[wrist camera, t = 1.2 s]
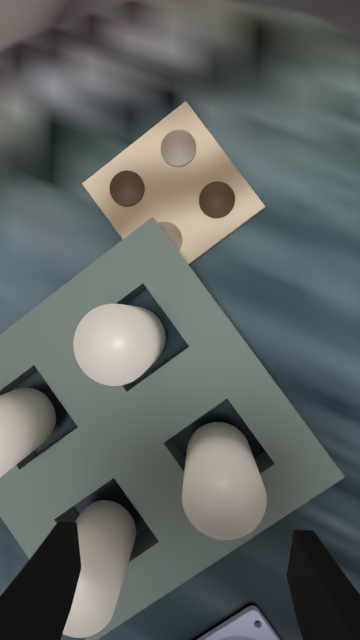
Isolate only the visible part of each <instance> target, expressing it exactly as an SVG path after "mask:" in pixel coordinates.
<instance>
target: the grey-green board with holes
mask: <svg viewBox="0 0 360 640" xmlns="http://www.w3.org/2000/svg"><path fill="white" fill-rule="evenodd" d="M146 288H147V289H148V291H149V292H150V293H151V295H152V296H153V297H154V299H155V300H156V302H157V303H158V304H159V306H160V307H161V308H162V310H163V311H164V312H165V314H166V315H167V317H168V318H169V319H170V321H171V322H172V323H173V325H174V326H175V328H176V329H177V330H178V332H179V333H180V334H181V336H182V337H183V339H184V340H185V341H186V343H187V344H188V346H187V347H185V348H184V349H182V350H181V351H180V352H178V353H177V354H175V355H174V356H173V357H171V358H170V359H169V360H167V361H166V362H164V363H163V364H162V365H160V366H159V367H158V368H156V369H155V370H153V371H152V372H151V373H149V374H148V375H147V376H145V377H144V378H142V379H141V380H140V381H138V382H137V383H135V384H133V383H132V382H130V383H128V384H125V385H120V386H108V385H103V384H100V383H98V382H96V381H94V380H92V379H91V378H90V377H88V376H87V375H86V374H85V373H84V372H83V370H82V369H81V368H80V366H79V365H78V362H77V360H76V357H75V354H74V347H73V342H74V335H75V331H76V328H77V326H78V324H79V323H80V321H81V320H82V318H83V317H84V316H85V315H86V314H87V313H88V312H90V311H91V310H93V309H94V308H96V307H98V306H101V305H105V304H123V305H124V304H126V303H127V302H128V301H130V300H131V299H132V298H134V297H135V296H136V295H138V294H139V293H140V292H142V291H143V290H144V289H146ZM36 370H38V371H39V373H40V374H41V375H42V377H43V378H44V380H45V381H46V382H47V384H48V385H49V387H50V388H51V390H52V391H53V392H54V394H55V395H56V397H57V398H58V399H59V401H60V402H61V404H62V405H63V407H64V408H65V409H66V411H67V412H68V414H69V415H70V416H71V418H72V419H73V421H74V422H75V423H76V425H77V426H76V427H75V428H73V429H72V430H71V431H69V432H68V433H66V434H65V435H64V436H62V437H61V438H60V439H58V440H57V441H55V442H54V443H53V444H51V445H50V446H49V447H47V448H46V449H44V450H43V451H42V452H40V453H39V454H37V455H36V454H35V452H34V451H33V452H32V453H30V454H29V455H28V456H27V457H25V458H24V459H23V460H22V461H20V462H19V463H18V464H17V465H15V466H14V467H13V468H12V469H10V470H9V471H8V472H7V473H6V474H4V475H3V476H2V477H1V478H0V517H1V518H2V520H3V521H4V523H5V524H6V526H7V527H8V528H9V530H10V531H11V533H12V534H13V536H14V537H15V539H16V540H17V542H18V543H19V544H20V546H21V547H22V549H23V550H24V552H25V553H26V555H27V556H28V558H29V559H30V558H31V557H32V556H33V554H34V553H35V552H36V550H37V549H38V548H39V546H40V545H41V544H42V542H43V541H44V540H45V538H46V537H47V536H48V534H49V533H50V531H51V530H52V529H53V527H54V526H55V525H56V524H57V523H58V522H75V521H76V520H77V518H78V516H79V515H78V514H77V512H76V511H75V510H74V508H73V506H74V505H76V504H77V503H78V502H80V501H81V500H83V499H84V498H86V497H87V496H88V495H90V494H91V493H93V492H94V491H96V490H97V489H98V488H100V487H101V486H103V485H104V484H106V483H107V482H108V481H110V480H111V479H113V478H114V479H115V480H116V482H117V483H118V484H119V486H120V487H121V489H122V490H123V491H124V493H125V494H126V496H127V497H128V499H129V500H130V501H131V503H132V504H133V506H134V507H135V508H136V510H137V511H138V513H139V514H140V516H141V517H142V518H143V520H144V521H145V523H146V524H147V525H148V527H149V528H150V529H149V530H148V531H146V532H145V533H143V534H142V535H140V536H139V537H137V538H136V539H135V542H134V546H133V549H132V553H131V556H130V559H129V563H128V566H127V570H126V573H125V576H124V580H123V583H122V586H121V590H120V593H119V597H118V600H117V603H116V607H115V610H114V613H113V616H112V618H111V620H110V622H109V623H108V624H107V626H106V627H105V628H104V629H102V630H101V631H100V632H98V633H96V634H95V635H92V636H89V637H84V639H85V640H97V639H99V638H100V637H102V636H103V635H105V634H106V633H108V632H109V631H111V630H113V629H114V628H116V627H117V626H119V625H120V624H122V623H123V622H125V621H126V620H128V619H129V618H131V617H132V616H134V615H135V614H137V613H138V612H140V611H142V610H143V609H145V608H146V607H148V606H149V605H151V604H152V603H154V602H155V601H157V600H158V599H160V598H161V597H163V596H164V595H166V594H167V593H169V592H171V591H172V590H174V589H175V588H177V587H178V586H180V585H181V584H183V583H184V582H186V581H187V580H189V579H190V578H192V577H193V576H195V575H196V574H198V573H200V572H201V571H203V570H204V569H206V568H207V567H209V566H210V565H212V564H213V563H215V562H216V561H218V560H219V559H221V558H222V557H224V556H225V555H227V554H228V553H230V552H232V551H233V550H235V549H236V548H238V547H239V546H241V545H242V544H244V543H245V542H247V541H248V540H250V539H251V538H253V537H254V536H256V535H257V534H259V533H261V532H262V531H264V530H265V529H267V528H268V527H270V526H271V525H273V524H274V523H276V522H277V521H279V520H280V519H282V518H283V517H285V516H286V515H288V514H290V513H291V512H293V511H294V510H296V509H297V508H299V507H300V506H302V505H303V504H305V503H306V502H308V501H309V500H311V499H312V498H314V497H315V496H317V495H319V494H320V493H322V492H323V491H325V490H326V489H328V488H329V487H331V486H332V485H334V484H335V483H337V482H338V481H340V480H341V479H343V478H344V477H345V476H344V475H343V474H342V472H341V471H340V470H339V468H338V467H337V466H336V464H335V463H334V461H333V460H332V459H331V457H330V456H329V455H328V453H327V452H326V451H325V449H324V448H323V447H322V445H321V444H320V442H319V441H318V440H317V438H316V437H315V436H314V434H313V433H312V432H311V430H310V429H309V428H308V426H307V425H306V423H305V422H304V421H303V419H302V418H301V417H300V415H299V414H298V413H297V411H296V410H295V409H294V407H293V406H292V404H291V403H290V402H289V400H288V399H287V398H286V396H285V395H284V394H283V392H282V391H281V390H280V388H279V387H278V385H277V384H276V383H275V381H274V380H273V379H272V377H271V376H270V375H269V373H268V372H267V371H266V369H265V368H264V366H263V365H262V364H261V362H260V361H259V360H258V358H257V357H256V356H255V354H254V353H253V352H252V350H251V349H250V347H249V346H248V345H247V343H246V342H245V341H244V339H243V338H242V337H241V335H240V334H239V333H238V331H237V330H236V328H235V327H234V326H233V324H232V323H231V322H230V320H229V319H228V318H227V316H226V315H225V314H224V312H223V311H222V309H221V308H220V307H219V305H218V304H217V303H216V301H215V300H214V299H213V297H212V296H211V295H210V293H209V292H208V291H207V289H206V288H205V286H204V285H203V284H202V282H201V281H200V280H199V278H198V277H197V276H196V274H195V273H194V272H193V270H192V269H191V267H190V266H189V265H188V263H187V262H186V261H185V259H184V258H183V257H182V255H181V254H180V253H179V251H178V250H177V248H176V247H175V246H174V244H173V243H172V242H171V240H170V239H169V238H168V236H167V235H166V234H165V232H164V231H163V229H162V228H161V227H160V225H159V224H158V223H157V221H156V220H155V219H154V217H152V218H150V219H149V220H148V221H146V222H145V223H144V224H143V225H141V226H140V227H139V228H137V229H136V230H135V231H133V232H132V233H131V234H130V235H128V236H127V237H126V238H124V239H123V240H122V241H120V242H119V243H118V244H117V245H115V246H114V247H113V248H111V249H110V250H109V251H108V252H106V253H105V254H104V255H102V256H101V257H100V258H98V259H97V260H96V261H95V262H93V263H92V264H91V265H89V266H88V267H87V268H85V269H84V270H83V271H82V272H80V273H79V274H78V275H76V276H75V277H74V278H72V279H71V280H70V281H69V282H67V283H66V284H65V285H63V286H62V287H61V288H59V289H58V290H57V291H56V292H54V293H53V294H52V295H50V296H49V297H48V298H47V299H45V300H44V301H43V302H41V303H40V304H39V305H37V306H36V307H35V308H34V309H32V310H31V311H30V312H28V313H27V314H26V315H24V316H23V317H22V318H21V319H19V320H18V321H17V322H15V323H14V324H13V325H11V326H10V327H9V328H8V329H6V330H5V331H4V332H2V333H1V334H0V395H3V394H5V393H7V392H8V391H10V390H11V389H12V388H14V387H15V386H16V385H18V384H19V383H20V382H22V381H23V380H24V379H26V378H27V377H28V376H30V375H31V374H32V373H34V372H35V371H36ZM225 399H228V400H229V402H230V403H231V404H232V406H233V407H234V409H235V410H236V411H237V413H238V414H239V415H240V417H241V418H242V419H243V421H244V422H245V424H246V425H247V426H248V428H249V429H250V430H251V432H252V433H253V435H254V436H255V437H256V439H257V440H258V441H259V443H260V444H261V446H262V447H263V448H264V450H265V451H264V452H263V453H261V454H260V455H258V456H257V457H255V458H254V459H255V462H256V465H257V468H258V470H259V473H260V476H261V478H262V481H263V484H264V487H265V490H266V495H267V505H266V510H265V514H264V516H263V518H262V520H261V522H260V523H259V525H258V526H257V527H256V528H255V529H254V530H253V531H252V532H250V533H249V534H247V535H246V536H244V537H241V538H238V539H234V540H218V539H214V538H211V537H209V536H206V535H205V534H203V533H201V532H200V531H199V530H197V529H196V528H195V527H194V526H193V525H192V523H191V522H190V521H189V519H188V518H187V516H186V514H185V511H184V508H183V504H182V488H183V479H184V470H185V461H186V457H185V455H184V454H183V452H182V451H181V450H180V448H179V447H178V445H177V444H176V443H175V441H174V440H173V438H172V437H173V436H174V435H175V434H177V433H178V432H180V431H181V430H183V429H184V428H185V427H187V426H188V425H190V424H191V423H193V422H194V421H195V420H197V419H198V418H200V417H201V416H203V415H204V414H205V413H207V412H208V411H210V410H211V409H213V408H214V407H215V406H217V405H218V404H220V403H221V402H223V401H224V400H225Z"/></svg>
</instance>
